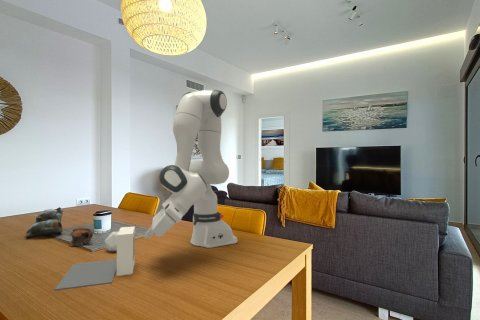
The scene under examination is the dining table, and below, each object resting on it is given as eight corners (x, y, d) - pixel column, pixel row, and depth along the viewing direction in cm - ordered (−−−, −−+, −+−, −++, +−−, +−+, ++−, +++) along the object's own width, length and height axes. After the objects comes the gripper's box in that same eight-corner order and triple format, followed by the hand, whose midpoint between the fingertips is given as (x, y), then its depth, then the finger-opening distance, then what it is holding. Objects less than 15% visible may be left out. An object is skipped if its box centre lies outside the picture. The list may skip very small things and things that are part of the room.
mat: (119, 259, 102) (119, 258, 102) (111, 282, 83) (111, 282, 83) (74, 264, 97) (74, 263, 97) (54, 290, 78) (54, 289, 78)
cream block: (135, 262, 99) (135, 226, 99) (133, 274, 90) (133, 233, 90) (120, 264, 98) (120, 227, 98) (116, 276, 88) (116, 234, 88)
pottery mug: (62, 247, 117) (66, 229, 121) (79, 250, 125) (82, 233, 129) (83, 243, 114) (86, 224, 118) (100, 246, 122) (102, 229, 126)
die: (112, 256, 107) (128, 236, 110) (96, 245, 108) (112, 225, 111) (120, 256, 115) (135, 237, 117) (105, 246, 116) (120, 227, 119)
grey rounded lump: (17, 238, 127) (23, 208, 134) (43, 241, 139) (48, 213, 146) (45, 230, 124) (50, 200, 131) (69, 234, 136) (72, 206, 143)
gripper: (166, 199, 108) (140, 224, 105) (168, 208, 88) (137, 239, 85) (177, 209, 109) (152, 234, 106) (181, 220, 90) (151, 251, 87)
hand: (145, 236), depth 96 cm, fingers closed
